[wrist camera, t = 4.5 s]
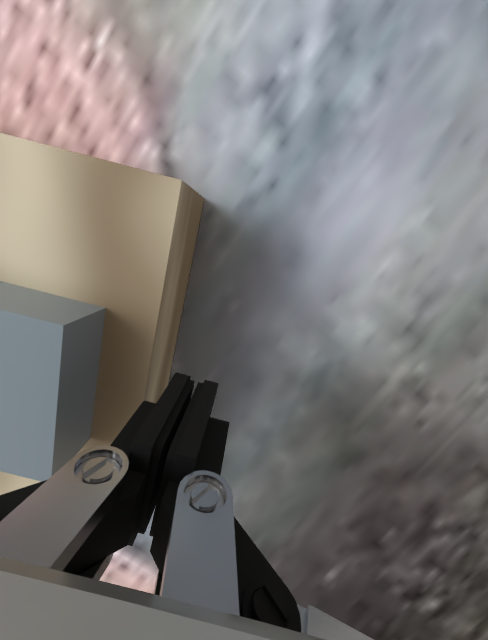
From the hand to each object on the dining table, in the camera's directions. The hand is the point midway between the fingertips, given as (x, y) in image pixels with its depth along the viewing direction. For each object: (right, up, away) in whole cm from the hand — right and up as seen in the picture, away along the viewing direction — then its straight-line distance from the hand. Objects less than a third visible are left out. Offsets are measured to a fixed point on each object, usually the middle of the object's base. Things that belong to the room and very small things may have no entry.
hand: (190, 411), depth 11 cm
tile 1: (-7, +2, +1) cm, 7 cm away
